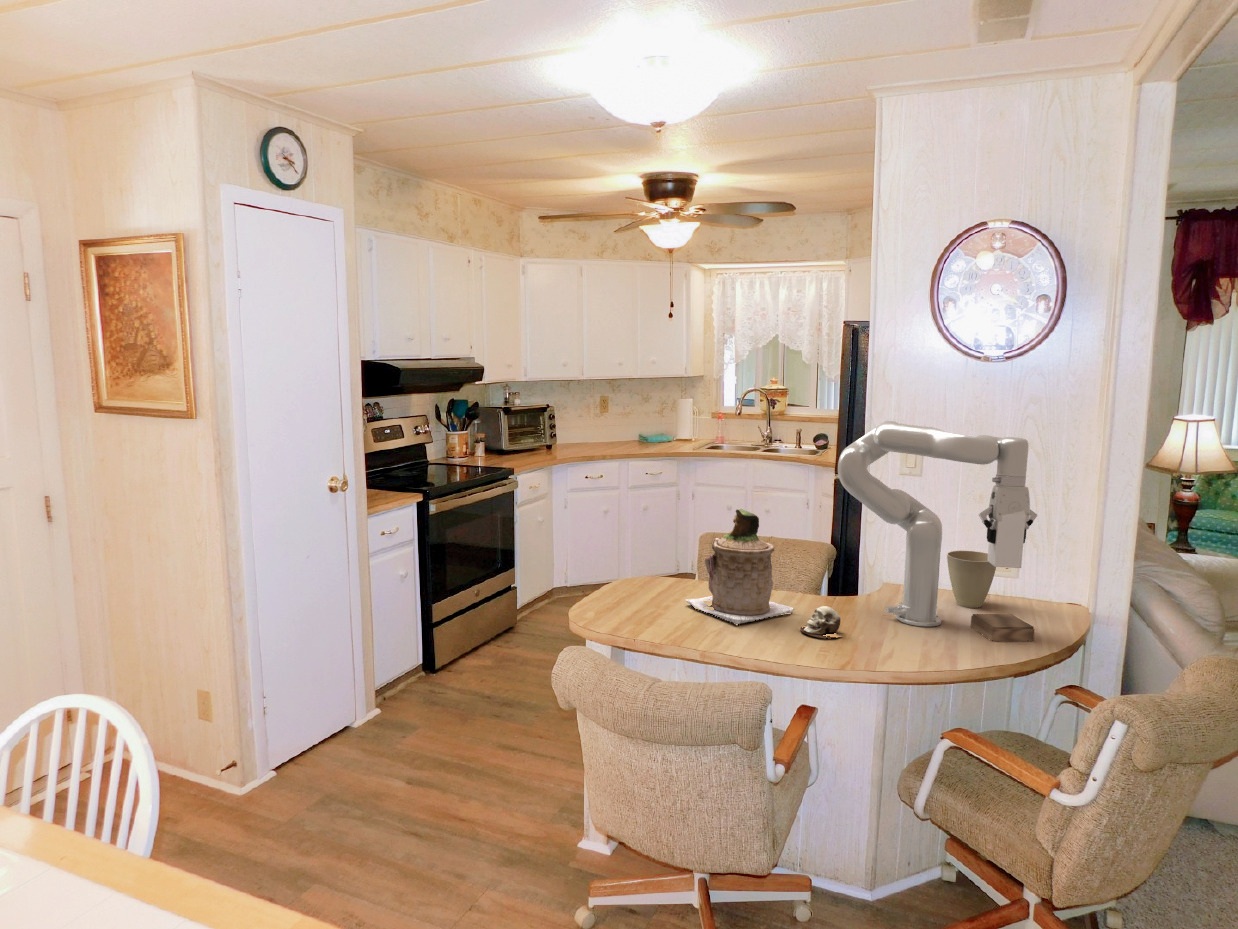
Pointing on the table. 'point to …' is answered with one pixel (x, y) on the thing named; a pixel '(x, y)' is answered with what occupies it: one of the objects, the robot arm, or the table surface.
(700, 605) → the cookie jar
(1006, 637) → the block
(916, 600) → the robot arm
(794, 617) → the table surface
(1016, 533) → the milk carton
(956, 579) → the plant pot
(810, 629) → the skull
